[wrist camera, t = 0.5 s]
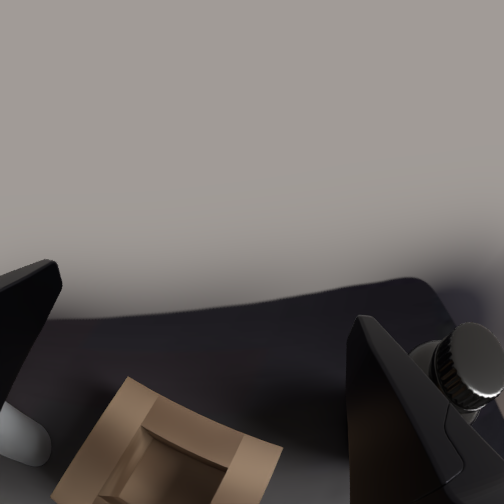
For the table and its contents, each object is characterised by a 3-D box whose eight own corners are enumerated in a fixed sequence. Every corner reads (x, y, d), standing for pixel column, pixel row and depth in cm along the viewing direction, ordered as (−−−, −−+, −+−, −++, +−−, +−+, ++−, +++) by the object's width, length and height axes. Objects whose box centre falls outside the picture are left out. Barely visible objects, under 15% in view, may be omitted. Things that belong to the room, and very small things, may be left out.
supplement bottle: (329, 446, 18) (420, 387, 10) (362, 378, 23) (440, 287, 14) (400, 476, 16) (515, 430, 8) (424, 408, 20) (518, 332, 12)
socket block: (213, 569, 10) (212, 588, 7) (82, 500, 12) (49, 497, 9) (269, 458, 17) (283, 447, 14) (144, 401, 19) (127, 376, 16)
